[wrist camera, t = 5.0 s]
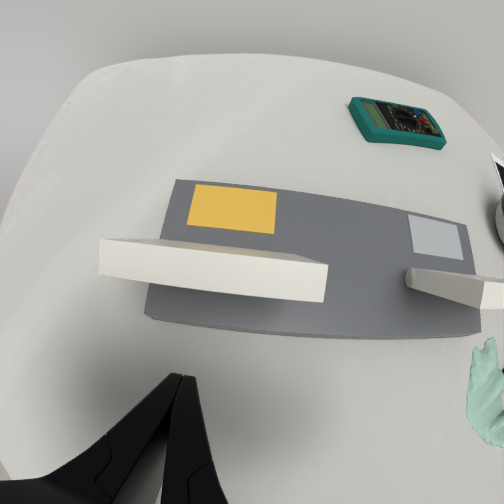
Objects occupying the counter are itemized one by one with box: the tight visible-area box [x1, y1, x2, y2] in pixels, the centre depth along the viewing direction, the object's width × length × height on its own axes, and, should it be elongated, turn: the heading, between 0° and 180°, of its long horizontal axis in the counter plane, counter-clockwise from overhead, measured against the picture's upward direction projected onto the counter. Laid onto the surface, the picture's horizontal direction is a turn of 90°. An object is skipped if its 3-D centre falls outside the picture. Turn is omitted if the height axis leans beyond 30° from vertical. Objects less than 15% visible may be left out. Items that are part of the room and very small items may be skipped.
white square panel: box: [98, 239, 328, 303], centre depth 16 cm, size 2×10×10 cm, turn 85°
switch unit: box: [144, 179, 481, 339], centre depth 23 cm, size 12×31×3 cm, turn 84°
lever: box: [405, 267, 504, 309], centre depth 16 cm, size 2×10×10 cm, turn 84°
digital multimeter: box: [349, 97, 446, 150], centre depth 32 cm, size 7×15×3 cm, turn 98°
